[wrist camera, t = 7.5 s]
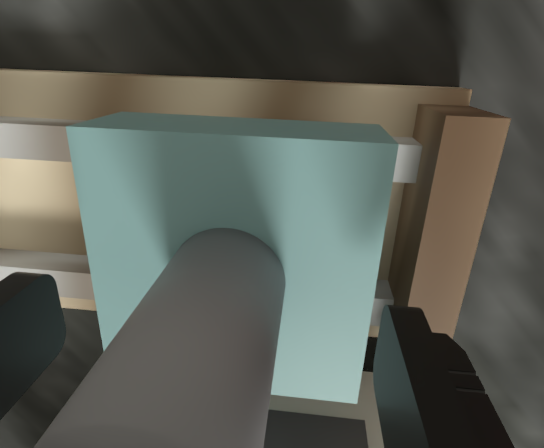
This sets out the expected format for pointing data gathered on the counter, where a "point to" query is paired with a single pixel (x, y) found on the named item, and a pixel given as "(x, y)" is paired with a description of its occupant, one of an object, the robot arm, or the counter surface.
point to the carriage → (222, 272)
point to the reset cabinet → (325, 421)
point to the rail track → (265, 105)
